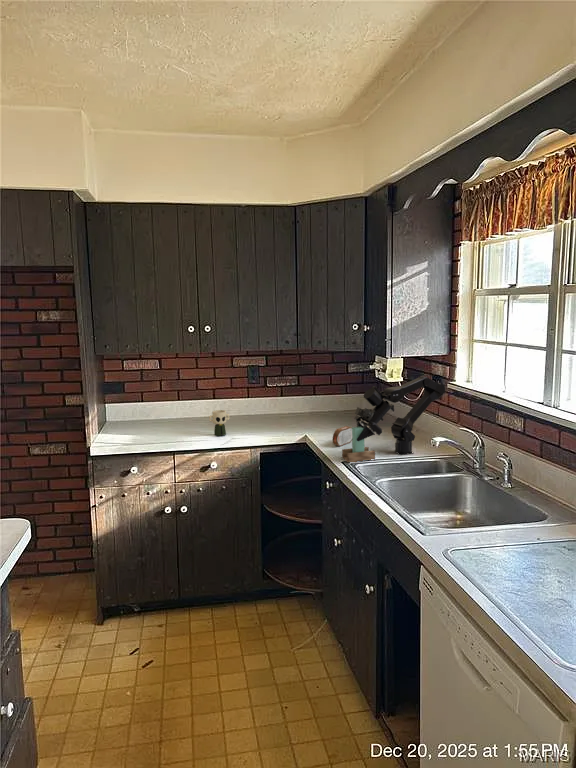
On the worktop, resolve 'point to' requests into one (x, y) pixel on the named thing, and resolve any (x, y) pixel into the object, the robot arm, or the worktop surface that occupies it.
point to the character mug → (219, 421)
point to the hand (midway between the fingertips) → (355, 439)
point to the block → (356, 445)
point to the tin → (342, 436)
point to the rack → (357, 455)
